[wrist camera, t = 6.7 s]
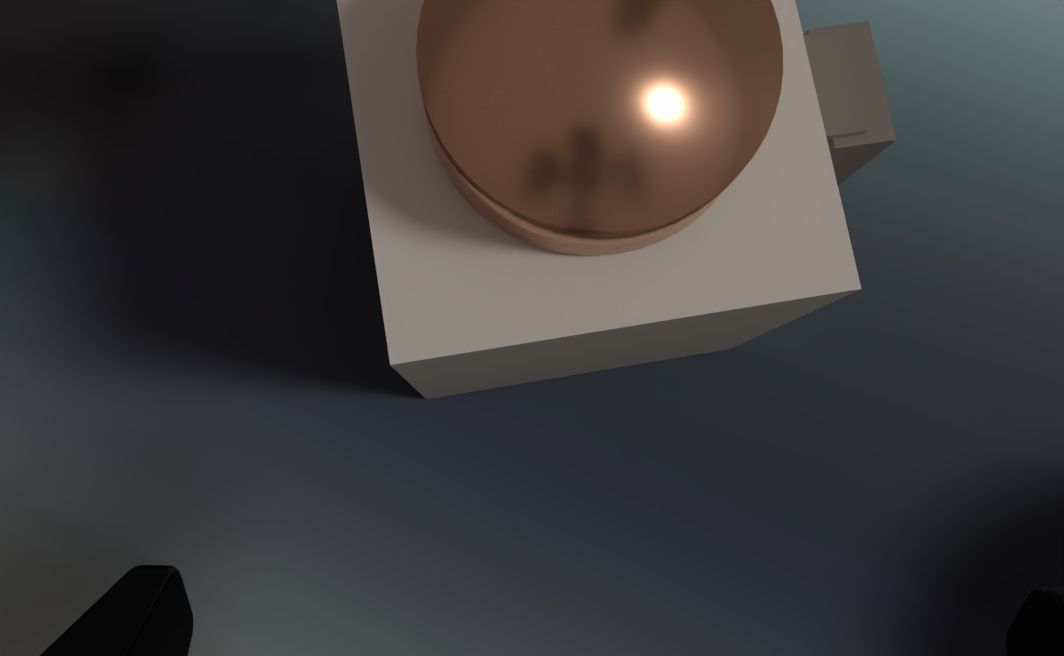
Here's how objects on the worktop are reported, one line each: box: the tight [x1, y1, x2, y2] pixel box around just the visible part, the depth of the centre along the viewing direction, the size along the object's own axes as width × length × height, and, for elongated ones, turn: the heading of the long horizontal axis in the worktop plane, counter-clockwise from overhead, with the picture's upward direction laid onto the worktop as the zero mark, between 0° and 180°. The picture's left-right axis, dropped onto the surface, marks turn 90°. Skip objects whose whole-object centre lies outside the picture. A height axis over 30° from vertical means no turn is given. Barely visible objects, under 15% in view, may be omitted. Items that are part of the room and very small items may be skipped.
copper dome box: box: [337, 0, 897, 399], centre depth 19 cm, size 8×10×8 cm
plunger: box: [416, 0, 783, 256], centre depth 16 cm, size 6×6×7 cm
